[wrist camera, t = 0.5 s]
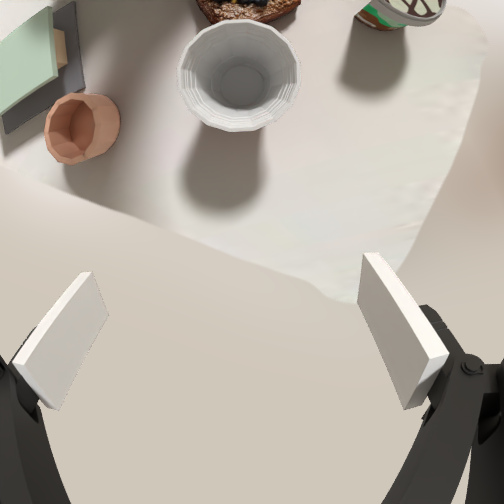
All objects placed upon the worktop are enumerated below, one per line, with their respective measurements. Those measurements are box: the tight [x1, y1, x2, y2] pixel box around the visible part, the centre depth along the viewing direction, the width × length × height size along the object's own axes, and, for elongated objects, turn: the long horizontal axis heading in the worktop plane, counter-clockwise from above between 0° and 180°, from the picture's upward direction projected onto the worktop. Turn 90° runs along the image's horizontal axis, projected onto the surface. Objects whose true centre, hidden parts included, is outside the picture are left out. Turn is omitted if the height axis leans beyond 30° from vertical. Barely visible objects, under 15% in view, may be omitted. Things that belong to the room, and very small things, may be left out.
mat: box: [2, 2, 85, 134], centre depth 26 cm, size 16×18×5 cm
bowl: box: [44, 93, 120, 165], centre depth 30 cm, size 9×9×6 cm
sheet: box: [0, 6, 58, 116], centre depth 23 cm, size 12×16×1 cm
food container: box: [354, 0, 446, 31], centre depth 22 cm, size 12×6×10 cm, turn 137°
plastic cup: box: [177, 19, 301, 132], centre depth 26 cm, size 11×11×12 cm
